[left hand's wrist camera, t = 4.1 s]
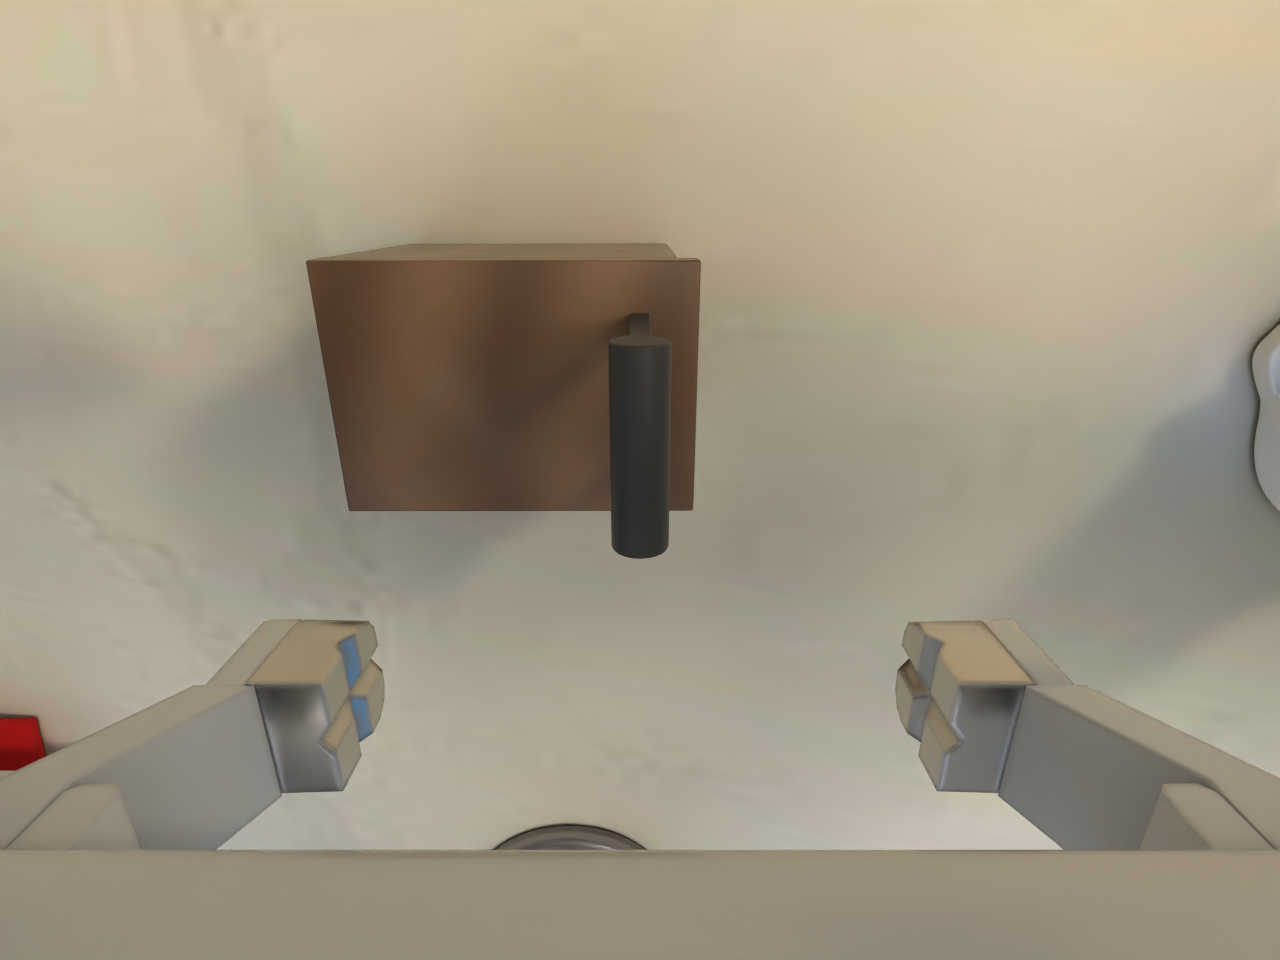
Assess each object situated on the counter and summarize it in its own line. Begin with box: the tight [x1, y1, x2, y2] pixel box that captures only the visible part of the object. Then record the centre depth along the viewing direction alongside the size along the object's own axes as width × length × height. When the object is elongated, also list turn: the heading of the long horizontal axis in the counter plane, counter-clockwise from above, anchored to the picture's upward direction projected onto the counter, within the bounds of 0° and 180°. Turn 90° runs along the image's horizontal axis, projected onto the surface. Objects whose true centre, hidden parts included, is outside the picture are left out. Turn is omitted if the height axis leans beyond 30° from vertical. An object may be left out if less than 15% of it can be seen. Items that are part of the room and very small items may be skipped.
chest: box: [320, 244, 677, 259], centre depth 32 cm, size 13×10×11 cm
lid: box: [306, 258, 701, 559], centre depth 23 cm, size 14×10×8 cm
